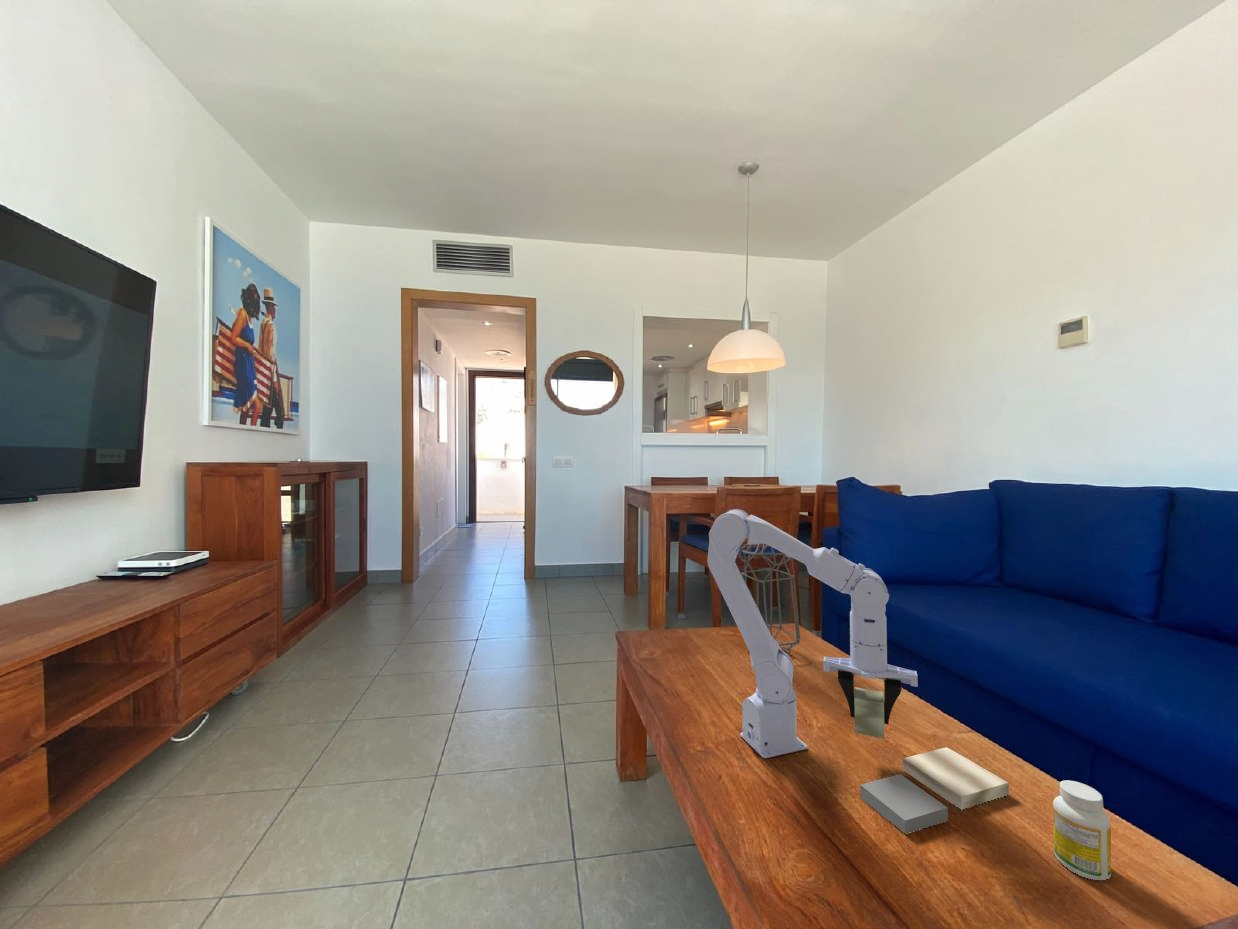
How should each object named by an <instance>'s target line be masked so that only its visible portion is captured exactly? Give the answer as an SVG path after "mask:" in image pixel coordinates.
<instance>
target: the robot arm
mask: <svg viewBox="0 0 1238 929" xmlns="http://www.w3.org/2000/svg"><path fill="white" fill-rule="evenodd" d="M746 538H748V539H746ZM708 540H709V541H708V552H707V562H706V563H707V566H708V568H709V570H710V572H711V575H712V576H713V579H714V581H715V583H716V585H717V587H718V589H719V591H720V593H721V595H722V597H723V599H724V601H725V604H726V606H727V607H728V610H729V611H730V613H731V616H732V618H733V619H734V622H735V624H736V627H737V628H738V631H739V632H740V635H741V636H742V638H743V640H744V643H745V645H746V647H747V649H748V652H749V657H750V662H751V667H752V669H753V671H754V674H755V686H756V689H755V692H754V693H752V695H751V696H748V697H746V698H744V699H743V702H742V706H741V712H742V713H741V714H742V716H741V718H742V719H741V720H742V724H741V726H742V728H741V729H742V730H741V731H742V732H740V734H739V735H740V737H741V738H743V740H745V742H746V743H747V744H748V745H750V746H751V748H753V749H754V750H755V752H757V753H758V755H760V756H761V757H762V758H763V759H768V758H769V759H770V758H772V757H776V756H777V757H778V756H781V755H786V754H790V753H795V752H799V751H803V750H807V749H808V746H809V745H808V744H806V743H805V742H804V741H803V740H801V739H800V738H799V737H798V727H797V716H798V715H797V692H796V691H795V690H794V688H793V687H794V686H793V678H794V674H795V664H794V661H793V660H792V658H791V657H790V656H788V655H789V654H788V653H787V652H785V651H783V650H782V649H783V648H782V647H781V646H779V644H780V643H779V641H777V640H775V639H774V637H773V635H772V636H771V634H770V629H769V628H767V626H766V622H765V620H764V618H763V616H762V614H761V612H760V609H759V610H758V608H757V603H756V601H755V600H754V598H753V596H752V593H751V591H750V590H749V587H748V586H747V583H745V578H744V579H743V577H742V574H741V573H742V572H740V569H739V567H738V565H737V563H736V559H737V556H738V555H737V554H738V553H740V552H739V549H740V547H742V546H741V544H743V543H744V542H745V541H746V540H747V543H748V545H751V544H753V545H755V544H764V545H768V546H769V547H770V548H771V547H773V549H774V550H778V551H779V553H784V554H786V555H788V556H790V557H792V559H793V560H796V561H798V562H800V563H802V564H804V565H805V566H806V569H807V573H808V574H809V575H810V576H812V577H813V578H815V579H817V580H819V581H820V582H822V583H824V584H825V585H828V586H829V587H831V588H833V589H835V591H838V592H840V593H841V594H848V595H849V596H850V598H851V599H850V601H851V602H850V606H851V608H850V611H849V643H850V644H849V647H850V648H849V649H850V650H849V651H850V652H849V653H850V654H849V656H850V657H848V658H847V657H829V656H824V657H823V663H822V664H823V665H822V666H823V670H822V671H823V672H829V673H830V672H837V682H838V683H839V685H840V687H841V690H842V692H843V694H844V697H845V699H846V701H847V704H848V708H849V712H850V717H851V718H854V719H855V704H854V696H855V678H854V677H855V676H860V677H862V678H864V679H870V680H875V679H878V680H883V687H884V689H883V690H884V691H883V696H884V725H889V722H890V715H891V714H892V710H893V707H894V705H895V703H896V701H897V700H898V698H899V697H900V695H901V692H902V689H903V688H902V683H903V684H908V685H910V686H911V687H916V688H917V687H919V685H918V684H919V682H918V679H919V678H918V673H917V670H912V669H907V668H903V667H899V666H896V665H891V664H888V645H887V644H888V641H887V640H888V638H887V637H888V632H887V628H888V627H887V626H888V625H887V615H886V611H887V610H886V609H887V608H886V605H887V603H888V602H889V599H890V593H889V590H888V588H887V586H886V584H885V582H884V581H883V579H882V577H881V576H880V575H879V574H878V573H877V572H875V571H874V570H873V569H872V568H869V567H868V568H867V567H866V566H865V565H864V564H862V563H858V564H857V563H856V562H853V561H851V560H849V559H847V558H846V557H844V556H842V555H840V554H839V553H840V552H839V550H838V549H836V548H834V547H831V548H830V549H828V548H827V547H825V546H823V547H819V548H813V547H811V546H809V545H807V544H806V543H804V542H802V541H801V540H798V539H797V538H796V537H794V536H792V535H790V534H789V533H787V532H786V531H783V530H782V529H780V528H778V527H777V526H775V525H773V524H772V523H770V522H768V521H766V520H764V519H762V518H761V517H758V516H756V515H754V514H750V515H749V514H748V513H747V512H746V511H744V510H742V509H740V508H739V509H738V508H734V509H730V510H727V512H725V513H722V514H721V515H719V516H718V517H716V519H715V520H714V522H713V524H712V526H711V527H710V530H709V532H708ZM781 648H782V649H781Z"/></svg>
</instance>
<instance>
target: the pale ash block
mask: <svg viewBox="0 0 1238 929" xmlns="http://www.w3.org/2000/svg"><path fill="white" fill-rule="evenodd" d="M902 771H903V772H905V773H907V775H909V776H911V777H912V778H914V779H915V780H917V781H918V782H920V783H921V784H922V785H924V786H925V787H927V788H928V789H930V790H931V791H933V793H936V794H937V795H938V794H939V797H941V798H943V799H944V800H946V801H947V802H949V803H950V804H951V805H953V804H954V805H955V807H956V808H957V807H958V808H957V809H959V808H960V809H961V810H960V809H959V810H960V811H963V809H964V810H966V809H965V808H967V809H970V808H973V806H974V805H977V804H980V805H982V803H983V804H985V803H984V802H986V803H988V802H987V801H990V802H992V801H991V800H993V801H995V800H994V799H996V800H998V799H997V798H999V797H1002V798H1005V797H1004V796H1006V797H1008V796H1007V795H1010V794H1009V782H1008V781H1007V780H1005V779H1003V778H1001V777H1000V776H997V775H996V774H994V773H992V772H990V771H989V770H987V769H985V768H984V767H982V766H980V765H979V764H977V763H975V762H973V761H972V760H970V759H968V758H966V757H964V756H963V755H962V754H960V753H958V752H956V751H954V750H953V749H950V748H949V747H943V748H942V747H941V748H937V749H935V750H931V751H927V752H923V753H918V754H915V755H912V756H907V757H904V758H902ZM999 799H1000V798H999ZM954 805H953V806H954ZM977 806H978V805H977ZM974 807H975V806H974Z"/></svg>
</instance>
